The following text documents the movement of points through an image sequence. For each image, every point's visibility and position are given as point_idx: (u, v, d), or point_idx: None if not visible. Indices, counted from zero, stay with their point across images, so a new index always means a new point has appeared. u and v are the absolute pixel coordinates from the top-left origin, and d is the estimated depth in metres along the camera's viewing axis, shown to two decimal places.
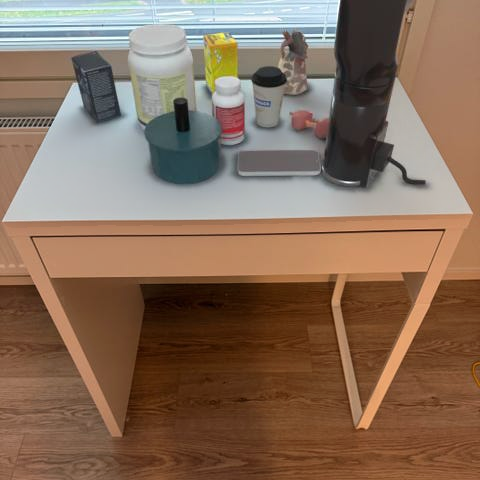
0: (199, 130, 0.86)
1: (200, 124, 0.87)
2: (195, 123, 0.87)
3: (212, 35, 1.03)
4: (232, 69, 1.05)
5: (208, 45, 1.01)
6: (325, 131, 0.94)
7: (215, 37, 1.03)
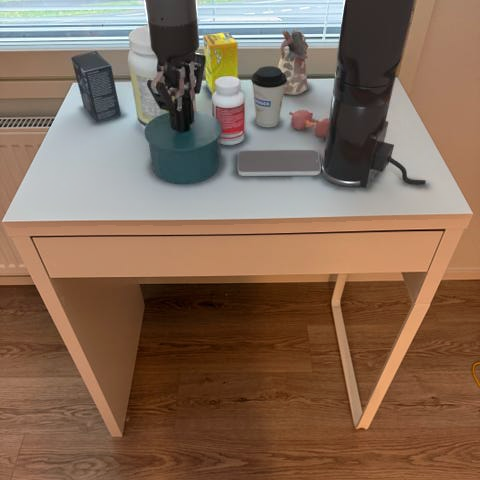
0: (199, 130, 0.86)
1: (200, 124, 0.87)
2: (195, 123, 0.87)
3: (212, 35, 1.03)
4: (232, 69, 1.05)
5: (208, 45, 1.01)
6: (325, 131, 0.94)
7: (215, 37, 1.03)
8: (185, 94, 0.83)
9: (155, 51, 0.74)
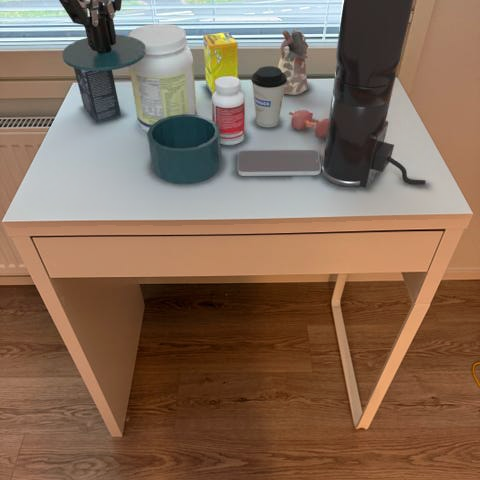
0: (121, 51, 0.80)
1: (123, 46, 0.82)
2: (118, 45, 0.82)
3: (212, 35, 1.03)
4: (232, 69, 1.05)
5: (208, 45, 1.01)
6: (325, 131, 0.94)
7: (215, 37, 1.03)
8: (103, 10, 0.77)
9: None
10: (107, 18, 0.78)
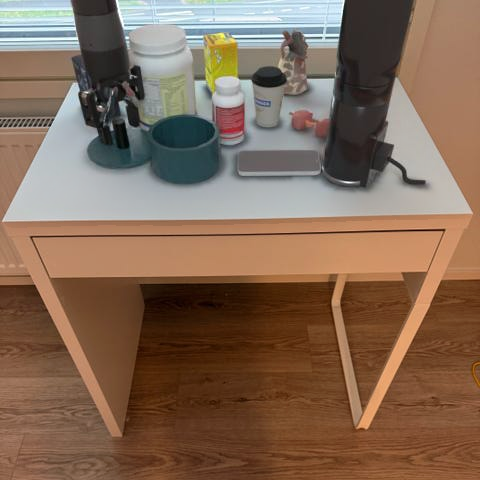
0: (138, 147, 0.93)
1: (139, 141, 0.95)
2: (135, 140, 0.95)
3: (212, 35, 1.03)
4: (232, 69, 1.05)
5: (208, 45, 1.01)
6: (325, 131, 0.94)
7: (215, 37, 1.03)
8: (130, 100, 0.91)
9: (88, 73, 0.81)
10: (133, 107, 0.91)
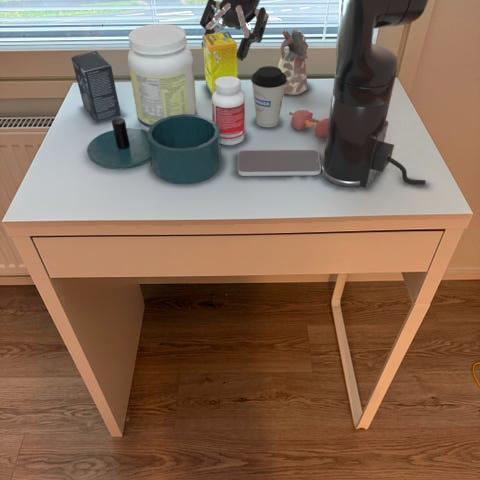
0: (138, 147, 0.93)
1: (139, 141, 0.95)
2: (135, 140, 0.95)
3: (211, 36, 1.03)
4: (231, 69, 1.05)
5: (207, 46, 1.01)
6: (325, 131, 0.94)
7: (214, 37, 1.02)
8: None
9: None
10: (244, 38, 1.03)
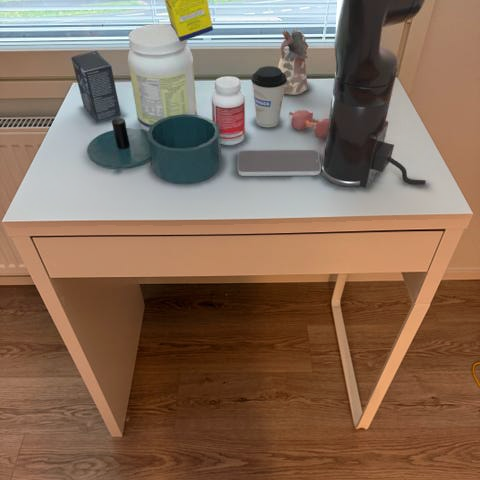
0: (138, 147, 0.93)
1: (139, 141, 0.95)
2: (135, 140, 0.95)
3: None
4: None
5: None
6: (325, 131, 0.94)
7: None
8: None
9: None
10: None
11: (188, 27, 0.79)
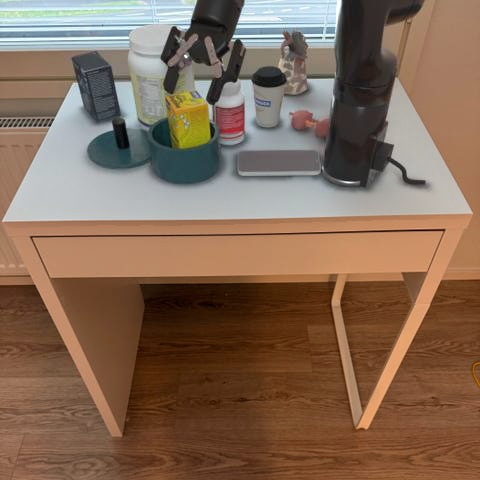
0: (138, 147, 0.93)
1: (139, 141, 0.95)
2: (135, 140, 0.95)
3: (176, 96, 0.84)
4: (204, 134, 0.86)
5: (172, 109, 0.82)
6: (325, 131, 0.94)
7: (180, 99, 0.84)
8: None
9: None
10: (215, 78, 0.81)
11: None
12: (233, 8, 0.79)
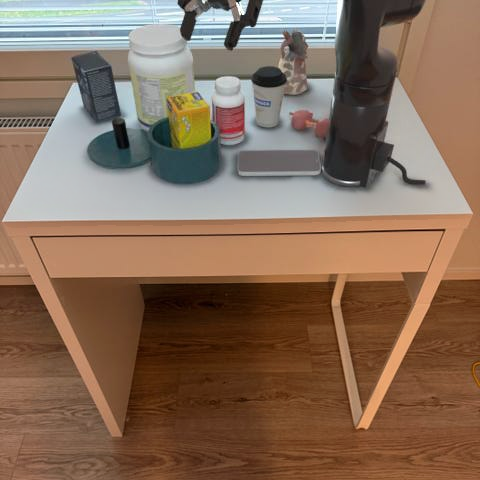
0: (138, 147, 0.93)
1: (139, 141, 0.95)
2: (135, 140, 0.95)
3: (177, 97, 0.84)
4: (204, 136, 0.86)
5: (174, 111, 0.82)
6: (325, 131, 0.94)
7: (182, 100, 0.83)
8: None
9: None
10: (233, 22, 0.80)
11: None
12: None
